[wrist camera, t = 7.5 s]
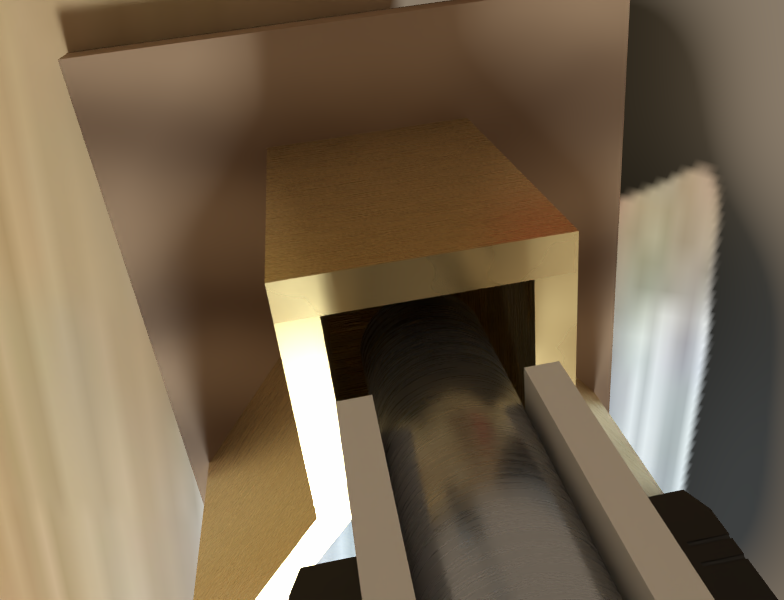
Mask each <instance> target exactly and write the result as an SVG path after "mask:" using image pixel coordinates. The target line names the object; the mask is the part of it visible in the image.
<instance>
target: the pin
mask: <svg viewBox="0 0 784 600" xmlns="http://www.w3.org/2000/svg"><path fill="white" fill-rule="evenodd" d="M360 352H361V360H362V365H363V370H364V375H365V379H366V384H367V389H368V394H369V395H372V397H373V401H374V406H375V411H376V415H377V420H378V425H379V429H380V434H381V439H382V443H383V448H384V453H385V458H386V462H387V467H388V472H389V476H390V481H391V486H392V490H393V495H394V500H395V504H396V509H397V514H398V518H399V523H400V528H401V532H402V537H403V542H404V547H405V551H406V556H407V561H408V565H409V570H410V575H411V579H412V584H413V589H414V593H415V598H416V600H623V598H622V596H621V594H620V592H619V590H618V588H617V586H616V584H615V582H614V581H613V579H612V577H611V575H610V573H609V571H608V569H607V567H606V565H605V563H604V561H603V559H602V557H601V555H600V553H599V552H598V550H597V548H596V546H595V544H594V542H593V540H592V538H591V536H590V534H589V532H588V530H587V528H586V526H585V524H584V523H583V521H582V519H581V517H580V515H579V513H578V511H577V509H576V507H575V505H574V503H573V501H572V499H571V497H570V495H569V494H568V492H567V490H566V488H565V486H564V484H563V482H562V480H561V478H560V476H559V474H558V472H557V470H556V468H555V466H554V465H553V463H552V461H551V459H550V457H549V455H548V453H547V451H546V449H545V447H544V445H543V443H542V441H541V439H540V437H539V436H538V434H537V432H536V430H535V428H534V426H533V424H532V422H531V420H530V418H529V416H528V414H527V412H526V410H525V408H524V406H523V405H522V403H521V401H520V399H519V397H518V395H517V393H516V391H515V389H514V387H513V385H512V383H511V381H510V379H509V377H508V376H507V374H506V372H505V370H504V368H503V366H502V364H501V362H500V360H499V358H498V356H497V354H496V352H495V350H494V348H493V347H492V345H491V343H490V341H489V339H488V337H487V335H486V333H485V331H484V329H483V327H482V325H481V323H480V321H479V319H478V318H477V316H476V314H475V313H474V311H473V310H472V309H471V308H470V307H469V306H468V305H467V304H466V303H465V302H463V301H462V300H460V299H459V298H457V297H455V296H452V295H450V294H447V295H441V296H435V297H429V298H424V299H418V300H412V301H406V302H400V303H394V304H388V305H385V306H383V307H382V308H381V309H380V310H379V311H378V312H377V313H376V314H375V315H374V316H373V317H372V319H371V320H370V321H369V323H368V325H367V326H366V328H365V331H364V333H363V336H362V340H361V347H360Z"/></svg>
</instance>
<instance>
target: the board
mask: <svg viewBox="0 0 784 600" xmlns="http://www.w3.org/2000/svg"><path fill="white" fill-rule="evenodd" d="M629 6H630V0H450V1H442V2H435V3H428V4H421V5H414V6H406V7H399V8H392V9H384V10H377V11H370V12H363V13H355V14H348V15H341V16H333V17H326V18H319V19H312V20H304V21H297V22H290V23H283V24H275V25H268V26H261V27H254V28H246V29H239V30H232V31H225V32H217V33H210V34H203V35H195V36H188V37H181V38H174V39H166V40H159V41H152V42H145V43H137V44H130V45H123V46H116V47H108V48H101V49H94V50H87V51H79V52H72V53H67V54H66V55H64V56H63V57H61V58H60V59H58V61H59V64H60V67H61V71H62V74H63V77H64V80H65V83H66V86H67V89H68V92H69V95H70V98H71V101H72V104H73V107H74V110H75V113H76V116H77V119H78V122H79V125H80V128H81V131H82V135H83V138H84V141H85V144H86V147H87V150H88V153H89V156H90V159H91V162H92V165H93V168H94V171H95V174H96V177H97V180H98V183H99V186H100V189H101V192H102V195H103V198H104V202H105V205H106V208H107V211H108V214H109V217H110V220H111V223H112V226H113V229H114V232H115V235H116V238H117V241H118V244H119V247H120V250H121V253H122V256H123V259H124V262H125V266H126V269H127V272H128V275H129V278H130V281H131V284H132V287H133V290H134V293H135V296H136V299H137V302H138V305H139V308H140V311H141V314H142V317H143V320H144V323H145V326H146V329H147V333H148V336H149V339H150V342H151V345H152V348H153V351H154V354H155V357H156V360H157V363H158V366H159V369H160V372H161V375H162V378H163V381H164V384H165V387H166V390H167V393H168V396H169V400H170V403H171V406H172V409H173V412H174V415H175V418H176V421H177V424H178V427H179V430H180V433H181V436H182V439H183V442H184V445H185V448H186V451H187V454H188V457H189V460H190V464H191V467H192V470H193V473H194V476H195V479H196V482H197V485H198V488H199V491H200V494H201V497H202V500H203V503H205V494H206V485H207V477H208V468H209V462H210V461H211V459H212V458H213V456H214V455H215V453H216V452H217V450H218V449H219V447H220V446H221V444H222V443H223V441H224V440H225V438H226V437H227V435H228V434H229V432H230V431H231V429H232V428H233V426H234V425H235V423H236V422H237V420H238V419H239V417H240V416H241V414H242V413H243V411H244V410H245V408H246V407H247V405H248V404H249V402H250V401H251V399H252V398H253V396H254V395H255V393H256V392H257V390H258V389H259V387H260V386H261V384H262V383H263V381H264V380H265V378H266V377H267V375H268V374H269V372H270V371H271V369H272V368H273V366H274V365H275V363H276V362H277V360H278V359H279V357H280V356H281V354H280V350H279V345H278V341H277V336H276V332H275V327H274V323H273V318H272V314H271V309H270V305H269V300H268V296H267V292H266V287H265V235H266V178H267V148H270V147H277V146H283V145H290V144H297V143H303V142H310V141H316V140H323V139H330V138H336V137H343V136H350V135H356V134H363V133H369V132H376V131H383V130H389V129H396V128H402V127H409V126H416V125H422V124H429V123H435V122H442V121H449V120H455V119H462V118H468V119H469V120H470V121H471V122H472V123H473V124H474V125H475V126H476V127H477V128H478V129H479V130H480V131H481V132H482V133H483V134H484V135H485V136H486V138H487V139H488V140H489V141H490V142H491V143H492V144H493V145H494V146H495V147H496V148H497V149H498V150H499V151H500V152H501V153H502V154H503V155H504V156H505V157H506V158H507V159H508V160H509V161H510V162H511V163H512V164H513V165H514V166H515V167H516V168H517V169H518V170H519V171H520V172H521V173H522V174H523V175H524V176H525V177H526V178H527V179H528V180H529V181H530V182H531V183H532V184H533V185H534V186H535V187H536V188H537V189H538V190H539V191H540V192H541V193H542V194H543V195H544V196H545V197H546V198H547V199H548V200H549V201H550V202H551V203H552V204H553V205H554V206H555V207H556V208H557V209H558V210H559V211H560V212H561V213H562V214H563V215H564V216H565V217H566V219H567V220H568V221H569V222H570V223H571V224H572V225H573V226H574V227H575V228H576V229H577V230H578V231H579V248H578V296H577V343H576V377H577V378H578V379H579V380H581V381H582V382H583V383H584V384H585V385H586V386H588V387H589V388H590V389H591V390H592V391H594V393H595V394H596V395H597V397H598V398H599V400H600V401H601V403H602V404H603V406H604V407H605V409H606V410H607V412H608V413H609V402H610V383H611V363H612V343H613V323H614V303H615V284H616V264H617V244H618V224H619V205H620V185H621V165H622V145H623V125H624V104H625V86H626V66H627V65H626V64H627V46H628V26H629Z"/></svg>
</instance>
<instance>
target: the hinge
mask: <svg viewBox="0 0 784 600" xmlns="http://www.w3.org/2000/svg"><path fill="white" fill-rule="evenodd" d="M578 248H579V231H578V230H577V229H576V228H575V227H574V226H573V225H572V224H571V223H570V222H569V221H568V220H567V219H566V217H565V216H564V215H563V214H562V213H561V212H560V211H559V210H558V209H557V208H556V207H555V206H554V205H553V204H552V203H551V202H550V201H549V200H548V199H547V198H546V197H545V196H544V195H543V194H542V193H541V192H540V191H539V190H538V189H537V188H536V187H535V186H534V185H533V184H532V183H531V182H530V181H529V180H528V179H527V178H526V177H525V176H524V175H523V174H522V173H521V172H520V171H519V170H518V169H517V168H516V167H515V166H514V165H513V164H512V163H511V162H510V161H509V160H508V159H507V158H506V157H505V156H504V155H503V154H502V153H501V152H500V151H499V150H498V149H497V148H496V147H495V146H494V145H493V144H492V143H491V142H490V141H489V140H488V139H487V138H486V136H485V135H484V134H483V133H482V132H481V131H480V130H479V129H478V128H477V127H476V126H475V125H474V124H473V123H472V122H471V121H470V120H469V119H468V118H462V119H455V120H449V121H442V122H435V123H429V124H422V125H416V126H409V127H402V128H396V129H389V130H383V131H376V132H369V133H363V134H356V135H350V136H343V137H336V138H330V139H323V140H316V141H310V142H303V143H297V144H290V145H283V146H277V147H270V148H267V178H266V235H265V287H266V292H267V296H268V300H269V305H270V309H271V314H272V318H273V323H274V327H275V332H276V336H277V341H278V345H279V350H280V354H281V356H280V357H279V359H278V360H277V362H276V363H275V365H274V366H273V368H272V369H271V371H270V372H269V374H268V375H267V377H266V378H265V380H264V381H263V383H262V384H261V386H260V387H259V389H258V390H257V392H256V393H255V395H254V396H253V398H252V399H251V401H250V402H249V404H248V405H247V407H246V408H245V410H244V411H243V413H242V414H241V416H240V417H239V419H238V420H237V422H236V423H235V425H234V426H233V428H232V429H231V431H230V432H229V434H228V435H227V437H226V438H225V440H224V441H223V443H222V444H221V446H220V447H219V449H218V450H217V452H216V453H215V455H214V456H213V458H212V459H211V461H210V462H209V468H208V477H207V485H206V494H205V503H204V512H203V520H202V529H201V538H200V547H199V555H198V564H197V573H196V582H195V590H194V599H193V600H288V598H289V594H290V591H291V589H292V586H293V584H294V582H295V579H296V577H297V574H298V572H299V569H300V568H301V567H306V566H311V565H315V564H316V563H317V562H318V560H319V559H320V558H321V556H322V555H323V554H324V553H325V551H326V550H327V549H328V548H329V546H330V545H331V544H332V542H333V541H334V540H335V539H336V537H337V536H338V535H339V534H340V532H341V531H342V530H343V528H344V527H345V526H346V525H347V523H348V522H349V521H350V520H351V513H350V506H349V498H348V491H347V484H346V476H345V469H344V461H343V454H342V446H341V439H340V432H339V424H338V417H337V409H336V401H342V400H347V399H353V398H358V397H364V396H369V394H368V389H367V384H366V379H365V375H364V370H363V365H362V360H361V352H360V347H361V340H362V336H363V333H364V331H365V328H366V326H367V325H368V323H369V321H370V320H371V319H372V317H373V316H374V315H375V314H376V313H377V312H378V311H379V310H380V309H381V308H382V307H383V306H385V305H388V304H394V303H400V302H406V301H412V300H418V299H424V298H429V297H435V296H441V295H447V294H450V295H452V296H455V297H457V298H459V299H460V300H462V301H463V302H465V303H466V304H467V305H468V306H469V307H470V308H471V309H472V310H473V311H474V313H475V314H476V316H477V318H478V319H479V321H480V323H481V325H482V327H483V329H484V331H485V333H486V335H487V337H488V339H489V341H490V343H491V345H492V347H493V348H494V350H495V352H496V354H497V356H498V358H499V360H500V362H501V364H502V366H503V368H504V370H505V372H506V374H507V376H508V377H509V379H510V381H511V383H512V385H513V387H514V389H515V391H516V393H517V395H518V397H519V399H520V401H521V403H522V405H523V406H524V408H525V389H524V367H529V366H535V365H540V364H546V363H552V362H557V361H559V362H560V363H561V365H562V366H563V368H564V369H565V371H566V372H567V374H568V375H569V377H570V378H571V380H572V382H573V383H574V385H575V386H576V388H577V389H578V391H579V392H580V394H581V395H582V397H583V398H584V400H585V402H586V403H587V405H588V406H589V408H590V409H591V411H592V412H593V414H594V415H595V417H596V418H597V420H598V421H599V423H600V425H601V426H602V428H603V429H604V431H605V432H606V434H607V435H608V437H609V438H610V440H611V441H612V443H613V444H614V446H615V448H616V449H617V451H618V452H619V454H620V455H621V457H622V458H623V460H624V461H625V463H626V464H627V466H628V468H629V469H630V471H631V472H632V474H633V475H634V477H635V478H636V480H637V481H638V483H639V484H640V486H641V487H642V489H643V491H644V492H645V494H646V495H647V497H650V496H655V495H660V494H664V493H663V492H662V491H661V489H660V488H659V486H658V485H657V483H656V482H655V480H654V479H653V477H652V476H651V474H650V473H649V472H648V470H647V469H646V467H645V466H644V464H643V463H642V461H641V460H640V458H639V457H638V455H637V454H636V452H635V451H634V450H633V448H632V447H631V445H630V444H629V442H628V441H627V439H626V438H625V436H624V435H623V433H622V432H621V431H620V429H619V428H618V426H617V425H616V423H615V422H614V420H613V419H612V417H611V416H610V414H609V413H608V412H607V410H606V409H605V407H604V406H603V404H602V403H601V401H600V400H599V398H598V397H597V395H596V394H595V393H594V391H592V390H591V389H590V388H589V387H588V386H586V385H585V384H584V383H583V382H582V381H581V380H579V379H578V378H577V377H576V343H577V296H578Z"/></svg>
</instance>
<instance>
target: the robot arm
mask: <svg viewBox="0 0 784 600" xmlns="http://www.w3.org/2000/svg"><path fill="white" fill-rule="evenodd" d="M524 389H525V410H526V412H527V414H528V416H529V418H530V420H531V422H532V424H533V426H534V428H535V430H536V432H537V434H538V436H539V437H540V439H541V441H542V443H543V445H544V447H545V449H546V451H547V453H548V455H549V457H550V459H551V461H552V463H553V465H554V466H555V468H556V470H557V472H558V474H559V476H560V478H561V480H562V482H563V484H564V486H565V488H566V490H567V492H568V494H569V495H570V497H571V499H572V501H573V503H574V505H575V507H576V509H577V511H578V513H579V515H580V517H581V519H582V521H583V523H584V524H585V526H586V528H587V530H588V532H589V534H590V536H591V538H592V540H593V542H594V544H595V546H596V548H597V550H598V552H599V553H600V555H601V557H602V559H603V561H604V563H605V565H606V567H607V569H608V571H609V573H610V575H611V577H612V579H613V581H614V582H615V584H616V586H617V588H618V590H619V592H620V594H621V596H622V598H623V600H778V599H777V598H776V596H775V595H774V594H773V592H772V591H771V590H770V588H769V587H768V585H767V584H766V583H765V581H764V580H763V579H762V577H761V576H760V575H759V574H758V572H757V571H756V569H755V568H754V567H753V565H752V564H751V563H750V561H749V560H748V559H745V557H744V553H743V552H742V551H741V549H740V548H739V547H738V545H737V544H736V543H735V541H734V540H733V538H730V537H729V533H728V532H727V530H726V529H725V528H724V526H723V525H722V524H721V523H720V521H719V520H718V518H717V517H716V516H715V514H714V513H713V512H712V510H711V509H710V508H709V507H707V506H706V505H704V504H703V503H701V502H700V501H699V500H697V499H696V498H694V497H693V496H691V495H690V494H689V493H687V492H686V491H684V490H680V491H675V492H670V493H665V494H660V495H655V496H650V497H647V495H646V494H645V492H644V491H643V489H642V487H641V486H640V484H639V483H638V481H637V480H636V478H635V477H634V475H633V474H632V472H631V471H630V469H629V468H628V466H627V464H626V463H625V461H624V460H623V458H622V457H621V455H620V454H619V452H618V451H617V449H616V448H615V446H614V444H613V443H612V441H611V440H610V438H609V437H608V435H607V434H606V432H605V431H604V429H603V428H602V426H601V425H600V423H599V421H598V420H597V418H596V417H595V415H594V414H593V412H592V411H591V409H590V408H589V406H588V405H587V403H586V402H585V400H584V398H583V397H582V395H581V394H580V392H579V391H578V389H577V388H576V386H575V385H574V383H573V382H572V380H571V378H570V377H569V375H568V374H567V372H566V371H565V369H564V368H563V366H562V365H561V363H560V362H559V361H557V362H552V363H546V364H540V365H535V366H529V367H524ZM336 409H337V417H338V424H339V432H340V439H341V446H342V454H343V461H344V469H345V476H346V484H347V491H348V498H349V506H350V513H351V521H352V528H353V536H354V543H355V550H356V557H351V558H346V559H341V560H336V561H331V562H326V563H321V564H316V565H311V566H306V567H301V568H300V569H299V572H298V574H297V577H296V579H295V582H294V584H293V586H292V589H291V591H290V594H289V600H416V598H415V593H414V589H413V584H412V579H411V575H410V570H409V565H408V561H407V556H406V551H405V547H404V542H403V537H402V532H401V528H400V523H399V518H398V514H397V509H396V504H395V500H394V495H393V490H392V486H391V481H390V476H389V472H388V467H387V462H386V458H385V453H384V448H383V443H382V439H381V434H380V429H379V425H378V420H377V415H376V411H375V406H374V401H373V397H372V395H369V396H364V397H358V398H353V399H347V400H342V401H336Z"/></svg>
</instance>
